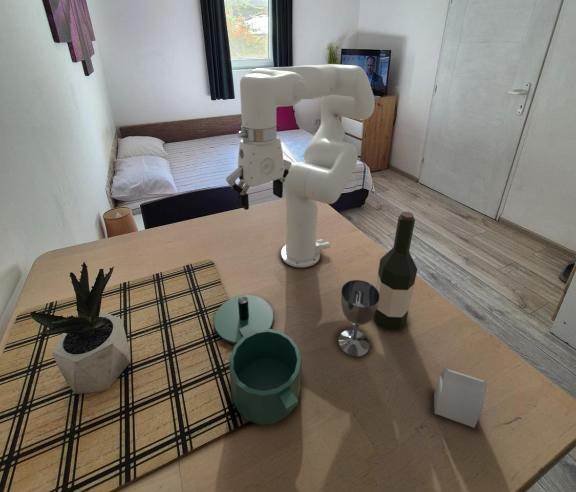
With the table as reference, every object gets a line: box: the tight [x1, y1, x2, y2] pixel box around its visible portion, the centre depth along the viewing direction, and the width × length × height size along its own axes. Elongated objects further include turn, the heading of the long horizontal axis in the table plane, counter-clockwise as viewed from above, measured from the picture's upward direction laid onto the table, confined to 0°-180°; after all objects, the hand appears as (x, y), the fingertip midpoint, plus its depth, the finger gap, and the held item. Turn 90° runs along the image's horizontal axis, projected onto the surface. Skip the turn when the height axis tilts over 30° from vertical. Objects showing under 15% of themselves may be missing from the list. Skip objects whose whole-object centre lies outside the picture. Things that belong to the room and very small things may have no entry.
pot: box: [228, 325, 302, 426], centre depth 64 cm, size 14×19×8 cm
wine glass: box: [338, 279, 379, 358], centre depth 72 cm, size 8×8×15 cm
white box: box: [433, 368, 488, 429], centre depth 60 cm, size 4×7×10 cm, turn 69°
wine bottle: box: [373, 211, 418, 331], centre depth 76 cm, size 8×8×30 cm
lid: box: [213, 294, 274, 345], centre depth 79 cm, size 15×15×7 cm
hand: (261, 201), depth 78 cm, fingers open, 9 cm apart
